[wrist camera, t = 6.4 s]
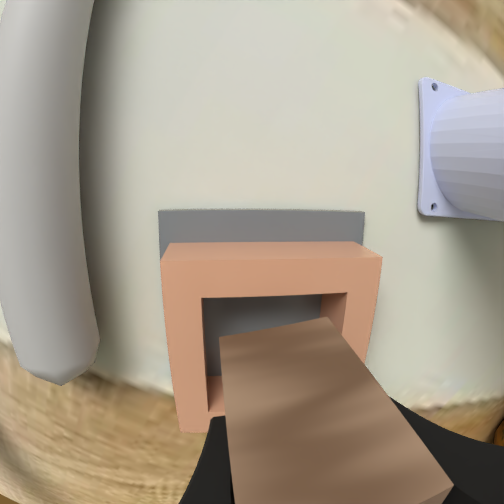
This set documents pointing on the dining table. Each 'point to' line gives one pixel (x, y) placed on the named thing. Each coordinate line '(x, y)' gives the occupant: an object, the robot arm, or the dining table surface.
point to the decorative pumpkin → (499, 435)
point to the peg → (317, 424)
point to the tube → (44, 188)
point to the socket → (256, 287)
